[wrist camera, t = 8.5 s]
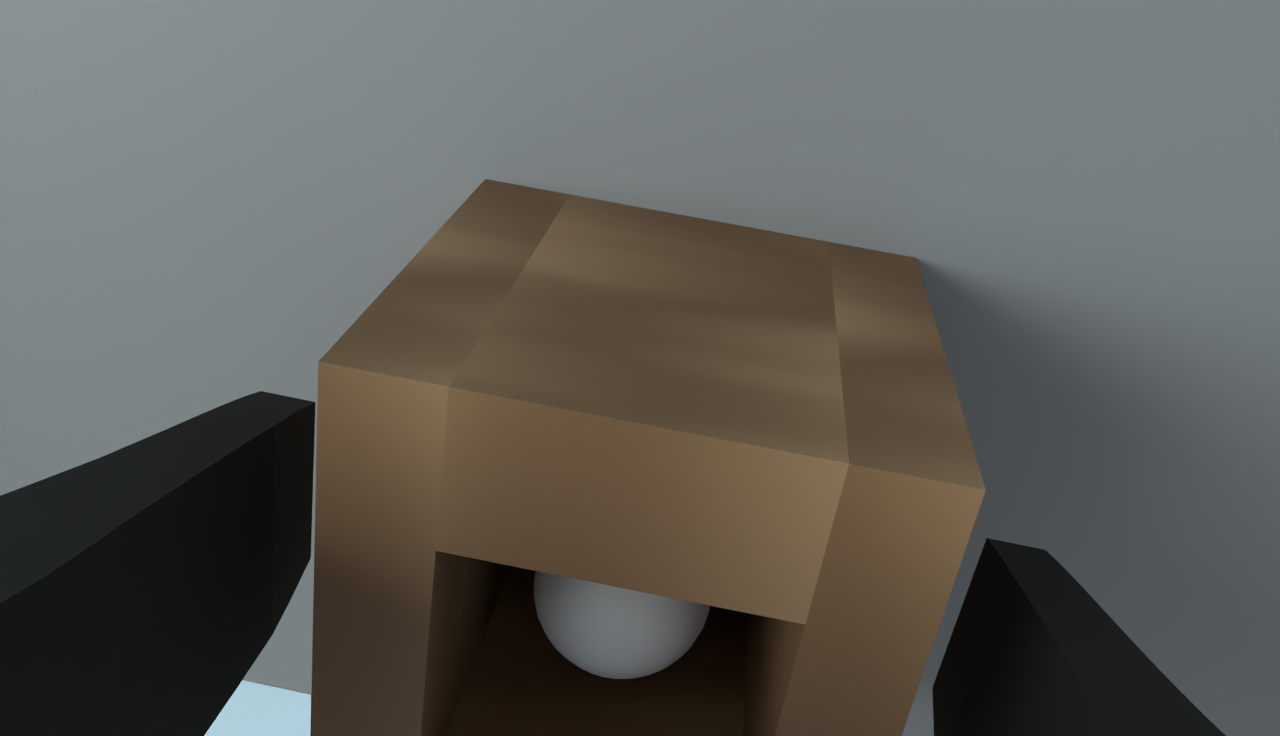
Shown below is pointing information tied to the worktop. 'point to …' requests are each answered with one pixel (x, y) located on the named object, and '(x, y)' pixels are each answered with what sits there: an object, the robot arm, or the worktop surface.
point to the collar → (635, 477)
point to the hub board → (709, 189)
